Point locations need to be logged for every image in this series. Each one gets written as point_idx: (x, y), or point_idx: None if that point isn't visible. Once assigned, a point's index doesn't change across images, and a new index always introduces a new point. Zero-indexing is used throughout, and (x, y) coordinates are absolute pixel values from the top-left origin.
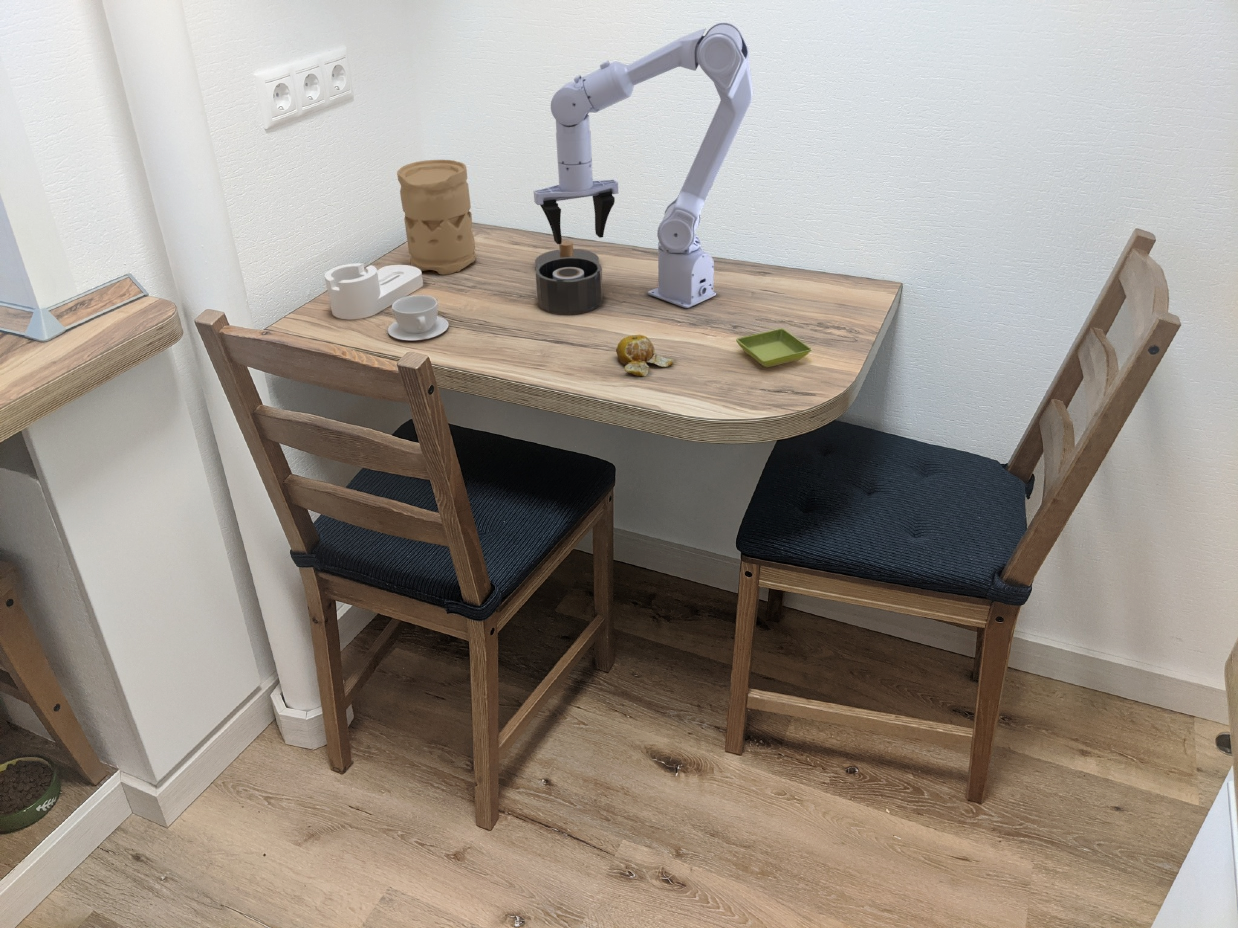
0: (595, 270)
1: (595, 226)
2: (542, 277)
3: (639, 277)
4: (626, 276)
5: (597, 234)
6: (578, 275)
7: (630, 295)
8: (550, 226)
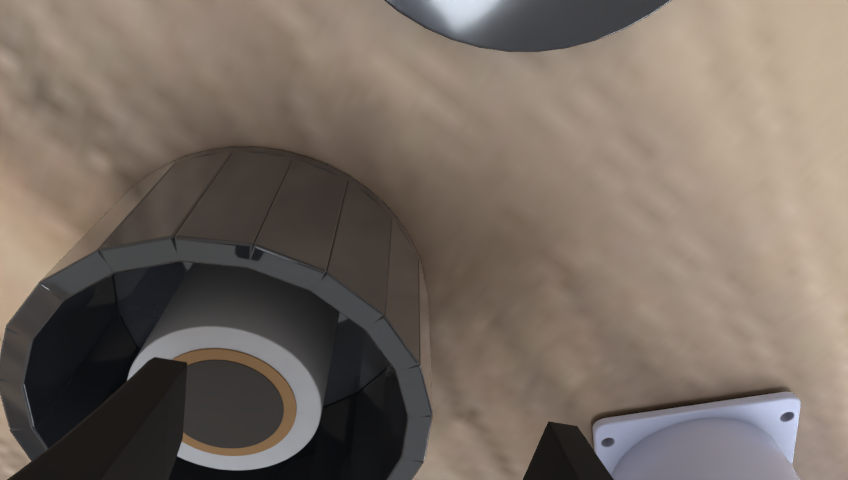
0: (403, 412)
1: (567, 474)
2: (23, 440)
3: (725, 250)
4: (689, 201)
5: (537, 463)
6: (262, 455)
7: (536, 382)
8: (57, 442)
